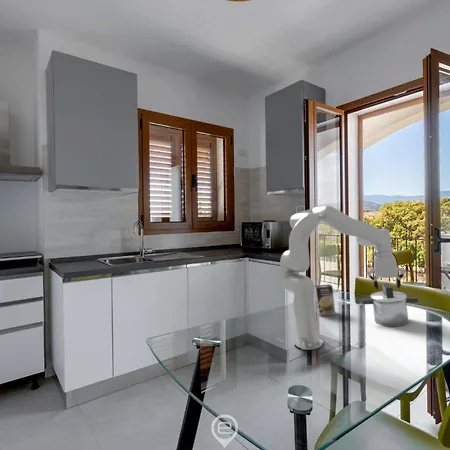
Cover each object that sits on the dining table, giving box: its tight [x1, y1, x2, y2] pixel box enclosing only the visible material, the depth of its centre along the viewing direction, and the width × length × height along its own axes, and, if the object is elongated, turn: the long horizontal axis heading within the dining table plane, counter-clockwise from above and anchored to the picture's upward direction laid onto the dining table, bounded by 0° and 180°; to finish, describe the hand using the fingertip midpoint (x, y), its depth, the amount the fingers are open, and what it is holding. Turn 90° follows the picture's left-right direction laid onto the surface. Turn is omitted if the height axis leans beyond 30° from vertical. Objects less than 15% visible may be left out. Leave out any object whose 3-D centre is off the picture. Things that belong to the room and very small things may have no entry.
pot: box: [361, 296, 419, 328], centre depth 161 cm, size 25×15×12 cm, turn 73°
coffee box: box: [314, 284, 336, 317], centre depth 185 cm, size 9×6×16 cm
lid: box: [370, 282, 408, 303], centre depth 161 cm, size 16×16×6 cm
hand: (387, 288), depth 161 cm, fingers open, 9 cm apart
